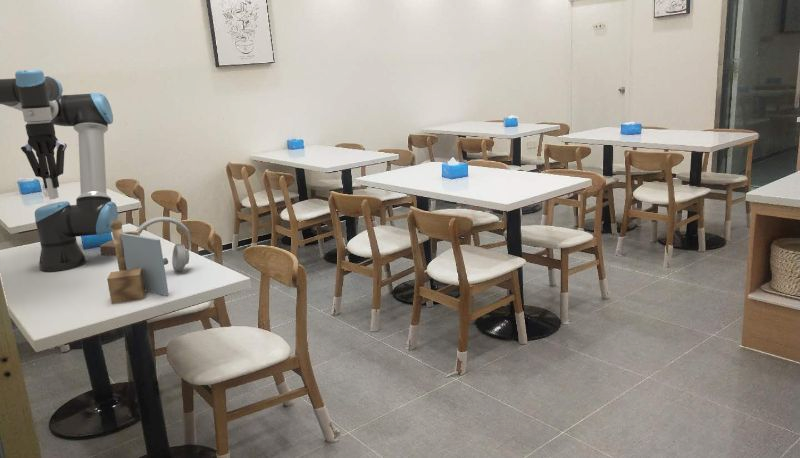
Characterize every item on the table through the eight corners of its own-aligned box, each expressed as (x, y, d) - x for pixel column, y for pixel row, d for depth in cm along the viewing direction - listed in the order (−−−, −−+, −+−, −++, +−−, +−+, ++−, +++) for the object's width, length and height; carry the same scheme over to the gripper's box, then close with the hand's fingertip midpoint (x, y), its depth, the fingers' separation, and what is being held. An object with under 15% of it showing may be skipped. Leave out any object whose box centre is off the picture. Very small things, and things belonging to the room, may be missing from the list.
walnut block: (111, 304, 184) (107, 279, 182) (115, 296, 190) (110, 272, 188) (143, 299, 186) (139, 274, 184) (146, 292, 193) (141, 268, 191)
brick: (99, 255, 238) (97, 244, 237) (115, 249, 246) (113, 238, 245) (135, 257, 233) (133, 245, 232) (149, 251, 241) (147, 239, 240)
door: (165, 295, 187) (156, 240, 182) (128, 285, 198) (119, 233, 193) (176, 291, 190) (167, 237, 186) (139, 282, 201) (130, 230, 196)
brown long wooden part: (119, 288, 197) (107, 221, 192) (123, 284, 201) (112, 219, 195) (145, 286, 198) (134, 220, 192) (148, 282, 201) (138, 217, 195)
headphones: (140, 283, 201) (130, 224, 196) (136, 276, 209) (126, 219, 204) (198, 271, 210) (189, 215, 205) (192, 265, 218) (184, 210, 213)
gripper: (10, 124, 181) (26, 202, 187) (54, 122, 182) (69, 199, 188) (24, 122, 188) (39, 197, 194) (66, 120, 189) (80, 194, 195)
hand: (54, 198), depth 191 cm, fingers closed
